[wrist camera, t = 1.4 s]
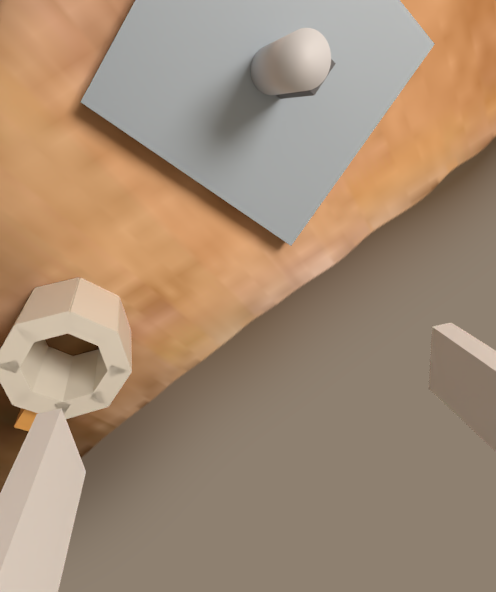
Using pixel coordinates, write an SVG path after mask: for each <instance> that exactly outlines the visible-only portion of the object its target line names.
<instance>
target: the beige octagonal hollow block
mask: <svg viewBox="0 0 496 592" xmlns="http://www.w3.org/2000/svg"><path fill="white" fill-rule="evenodd" d="M64 334H70V335H73V336H75V337H78V338H80V339H83V340H85V341H87V342H90V343H92V344H95V345H97V346H98V347H99V349H97V350H94V351H90V352H86V353H82V354H79V355H75V356H72V355H69V354H67V353H64V352H62V351H59V350H57V349H54V348H51V347H49V346H48V345H47V343H46V340H45V339H48V338H52V337H56V336H60V335H64ZM131 371H132V358H131V329H130V326H129V323H128V320H127V317H126V314H125V311H124V308H123V305H122V302H121V299H120V297H119V296H118V295H116V294H114V293H112V292H110V291H108V290H105V289H103V288H101V287H99V286H97V285H95V284H93V283H91V282H89V281H87V280H85V279H83V278H79V277H78V278H74V279H70V280H65V281H61V282H57V283H53V284H49V285H44V286H40V287H36V288H35V289H34V290H33V292H32V293H31V295H30V297H29V298H28V300H27V302H26V304H25V305H24V307H23V309H22V311H21V312H20V314H19V316H18V318H17V319H16V321H15V323H14V325H13V327H12V328H11V330H10V332H9V334H8V336H7V337H6V339H5V341H4V343H3V345H2V347H1V348H0V383H1V385H2V387H3V389H4V390H5V392H6V394H7V396H8V398H9V400H10V401H11V403H12V405H13V404H14V406H16V407H19V408H21V409H20V411H19V414H18V417H17V419H16V422H15V425H14V427H15V428H18V429H22V430H25V431H29V430H30V428H31V426H32V423H33V421H34V419H35V417H36V415H37V414H39V413H43V412H48V411H52V410H57V409H61V408H62V411H63V413H64V416H65V419H68V418H72V417H75V416H79V415H82V414H85V413H89V412H92V411H96V410H99V409H102V408H106V407H108V406H109V405H110V404H111V402H112V401H113V399H114V398H115V396H116V395H117V393H118V392H119V390H120V389H121V387H122V386H123V384H124V383H125V381H126V380H127V378H128V377H129V375H130V374H131Z"/></svg>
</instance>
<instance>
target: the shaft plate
mask: <svg viewBox="0 0 496 592" xmlns="http://www.w3.org/2000/svg"><path fill="white" fill-rule="evenodd" d="M433 46H434V43H433V41H432V40H431V39H430V38H429V36H428V35H427V34H426V33H425V31H424V30H423V29H422V28H421V26H420V25H419V24H418V23H417V21H416V20H415V19H414V18H413V16H412V15H411V14H410V13H409V11H408V10H407V9H406V8H405V6H404V5H403V4H402V3H401V1H400V0H135V2H134V4H133V6H132V8H131V10H130V11H129V13H128V15H127V17H126V19H125V21H124V22H123V24H122V26H121V28H120V30H119V32H118V34H117V35H116V37H115V39H114V41H113V43H112V45H111V46H110V48H109V50H108V52H107V54H106V56H105V58H104V59H103V61H102V63H101V65H100V67H99V69H98V71H97V72H96V74H95V76H94V78H93V80H92V82H91V83H90V85H89V87H88V89H87V91H86V93H85V95H84V96H83V98H82V100H81V103H83V104H84V105H85V106H87V107H88V108H90V109H91V110H93V111H94V112H96V113H97V114H99V115H100V116H102V117H103V118H105V119H106V120H107V121H109V122H110V123H112V124H113V125H115V126H116V127H118V128H119V129H121V130H122V131H124V132H125V133H127V134H128V135H129V136H131V137H132V138H134V139H135V140H137V141H138V142H140V143H141V144H143V145H144V146H146V147H147V148H148V149H150V150H151V151H153V152H154V153H156V154H157V155H159V156H160V157H162V158H163V159H165V160H166V161H168V162H169V163H170V164H172V165H173V166H175V167H176V168H178V169H179V170H181V171H182V172H184V173H185V174H187V175H188V176H189V177H191V178H192V179H194V180H195V181H197V182H198V183H200V184H201V185H203V186H204V187H206V188H207V189H209V190H210V191H211V192H213V193H214V194H216V195H217V196H219V197H220V198H222V199H223V200H225V201H226V202H228V203H229V204H231V205H232V206H233V207H235V208H236V209H238V210H239V211H241V212H242V213H244V214H245V215H247V216H248V217H250V218H251V219H252V220H254V221H255V222H257V223H258V224H260V225H261V226H263V227H264V228H266V229H267V230H269V231H270V232H272V233H273V234H274V235H276V236H277V237H279V238H280V239H282V240H283V241H285V242H286V243H288V244H289V245H292V244H293V243H294V241H295V240H296V238H297V237H298V236H299V234H300V233H301V231H302V230H303V228H304V227H305V226H306V224H307V223H308V221H309V220H310V219H311V217H312V216H313V214H314V213H315V212H316V210H317V209H318V207H319V206H320V205H321V203H322V202H323V200H324V199H325V198H326V196H327V195H328V193H329V192H330V191H331V189H332V188H333V186H334V185H335V183H336V182H337V181H338V179H339V178H340V176H341V175H342V174H343V172H344V171H345V169H346V168H347V167H348V165H349V164H350V162H351V161H352V160H353V158H354V157H355V155H356V154H357V153H358V151H359V150H360V148H361V147H362V146H363V144H364V143H365V141H366V140H367V138H368V137H369V136H370V134H371V133H372V131H373V130H374V129H375V127H376V126H377V124H378V123H379V122H380V120H381V119H382V117H383V116H384V115H385V113H386V112H387V110H388V109H389V108H390V106H391V105H392V103H393V102H394V101H395V99H396V98H397V96H398V95H399V94H400V92H401V91H402V89H403V88H404V86H405V85H406V84H407V82H408V81H409V79H410V78H411V77H412V75H413V74H414V72H415V71H416V70H417V68H418V67H419V65H420V64H421V63H422V61H423V60H424V58H425V57H426V56H427V54H428V53H429V51H430V50H431V49H432V47H433Z"/></svg>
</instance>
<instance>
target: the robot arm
mask: <svg viewBox="0 0 496 592" xmlns="http://www.w3.org/2000/svg"><path fill="white" fill-rule="evenodd" d="M429 389H430V390H431V391H432V392H433V393H434V394H435V395H436V396H437V397H438V398H439V399H440V400H441V401H443V403H444V404H445V405H447V406H448V407H449V408H450V409H451V410H452V411H453V412H454V413H455V414H456V415H457V416H458V417H459V418H461V420H462V421H464V422H465V423H466V424H467V425H468V426H469V427H470V428H471V429H472V430H473V431H474V432H475V433H476V434H477V435H478V436H480V438H482V439H483V440H484V441H485V442H486V443H487V444H488V445H489V446H490V447H491V448H492V449H493V450H494V451H495V452H496V351H495V350H493V349H492V348H490V347H489V346H487V345H486V344H484V343H482V342H481V341H479V340H478V339H476V338H475V337H473V336H472V335H470V334H468V333H467V332H465V331H464V330H462V329H461V328H459V327H457V326H456V325H454V324H453V323H447V324H443V325H438V326H433V327H432V341H431V358H430V375H429ZM85 473H86V471H85V468H84V466H83V463H82V461H81V458H80V455H79V453H78V450H77V447H76V445H75V442H74V440H73V437H72V434H71V432H70V429H69V426H68V424H67V421H66V419H65V416H64V413H63V411H62V408H61V409H57V410H52V411H48V412H43V413H39V414H37V415H36V417H35V419H34V421H33V423H32V426H31V428H30V430H29V432H28V434H27V436H26V439H25V441H24V443H23V445H22V447H21V449H20V452H19V454H18V456H17V458H16V460H15V463H14V465H13V467H12V469H11V471H10V473H9V476H8V478H7V480H6V482H5V484H4V486H3V489H2V491H1V493H0V592H58V589H59V585H60V581H61V576H62V572H63V567H64V564H65V559H66V555H67V550H68V546H69V541H70V538H71V534H72V529H73V524H74V520H75V516H76V512H77V508H78V504H79V499H80V495H81V490H82V486H83V482H84V478H85Z"/></svg>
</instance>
